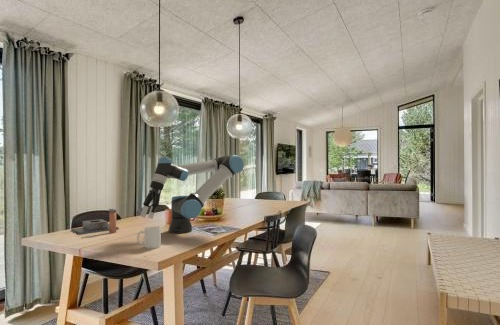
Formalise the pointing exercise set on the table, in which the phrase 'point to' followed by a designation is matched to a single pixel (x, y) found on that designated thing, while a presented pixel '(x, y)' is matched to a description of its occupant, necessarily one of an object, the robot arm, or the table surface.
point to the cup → (151, 237)
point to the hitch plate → (83, 231)
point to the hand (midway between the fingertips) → (146, 217)
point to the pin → (112, 220)
